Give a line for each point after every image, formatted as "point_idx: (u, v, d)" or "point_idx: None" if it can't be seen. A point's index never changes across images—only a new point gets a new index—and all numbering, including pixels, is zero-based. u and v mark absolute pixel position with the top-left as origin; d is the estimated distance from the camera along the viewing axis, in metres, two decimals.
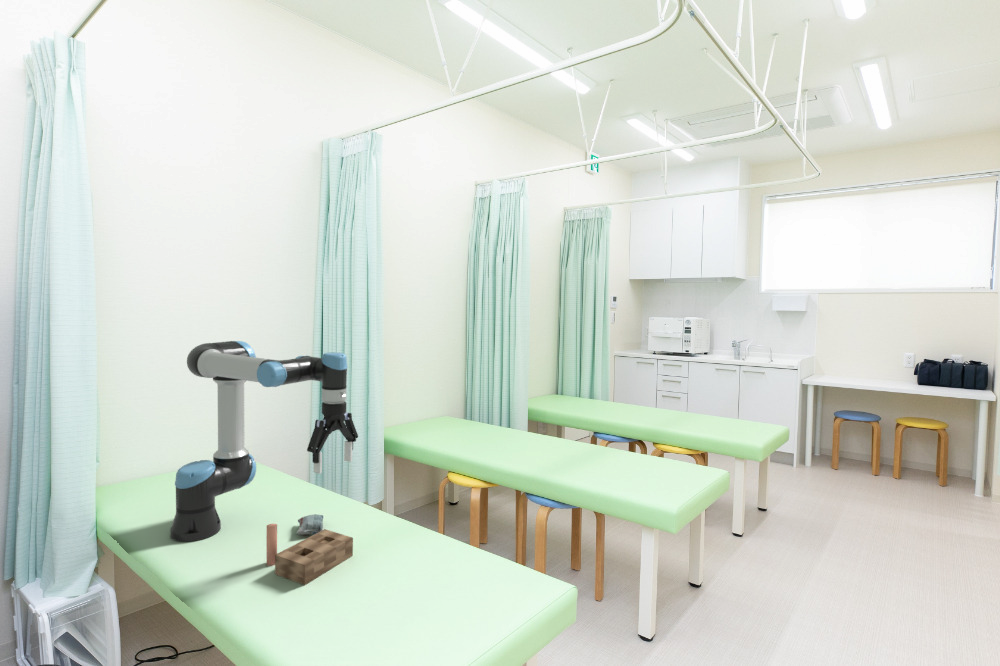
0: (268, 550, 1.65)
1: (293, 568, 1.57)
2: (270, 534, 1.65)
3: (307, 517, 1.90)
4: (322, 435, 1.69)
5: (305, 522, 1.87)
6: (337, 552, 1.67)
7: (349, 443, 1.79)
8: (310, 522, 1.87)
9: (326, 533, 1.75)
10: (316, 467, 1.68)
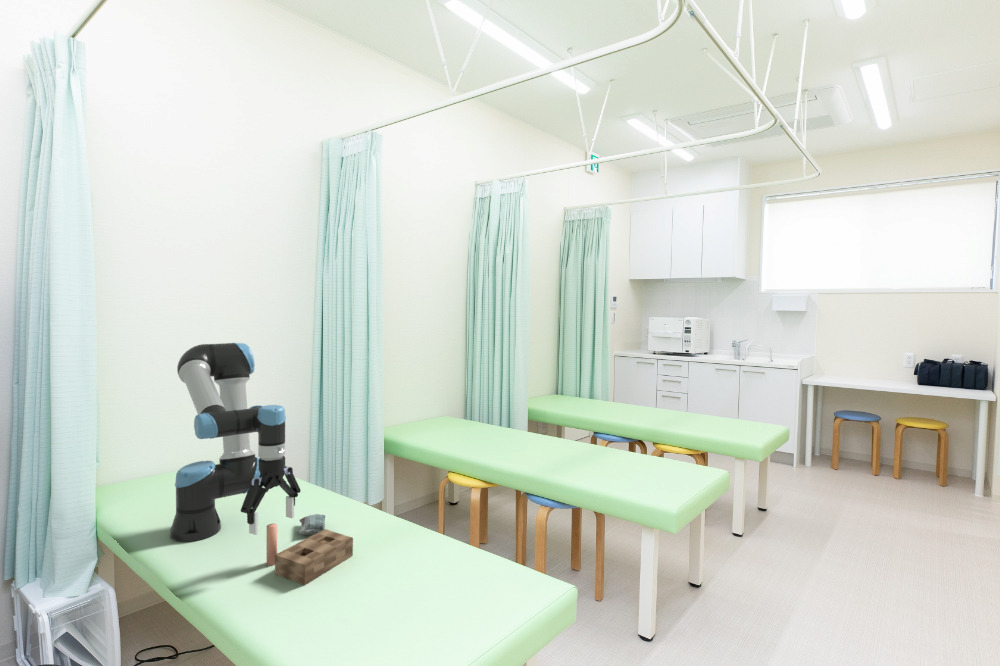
0: (268, 550, 1.65)
1: (293, 568, 1.57)
2: (270, 534, 1.65)
3: (309, 517, 1.90)
4: (258, 494, 1.61)
5: (307, 522, 1.87)
6: (337, 552, 1.67)
7: (290, 499, 1.71)
8: (312, 522, 1.87)
9: (326, 533, 1.75)
10: (251, 528, 1.59)
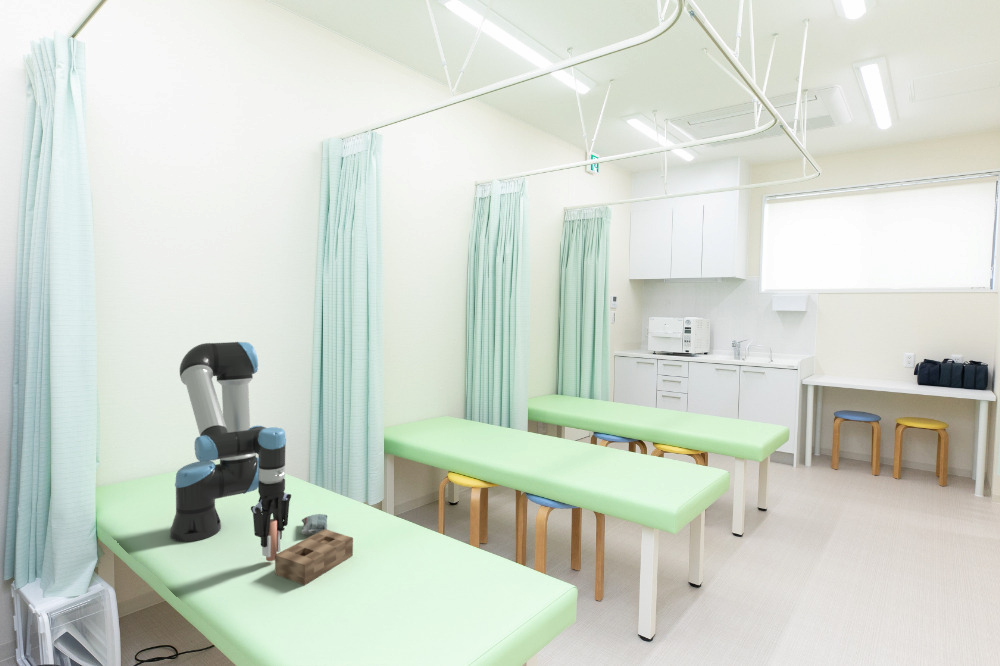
0: None
1: (293, 568, 1.57)
2: (270, 530, 1.65)
3: (311, 517, 1.90)
4: (264, 518, 1.64)
5: (309, 522, 1.87)
6: (337, 552, 1.67)
7: (277, 532, 1.68)
8: (314, 522, 1.87)
9: (326, 533, 1.75)
10: (265, 550, 1.65)
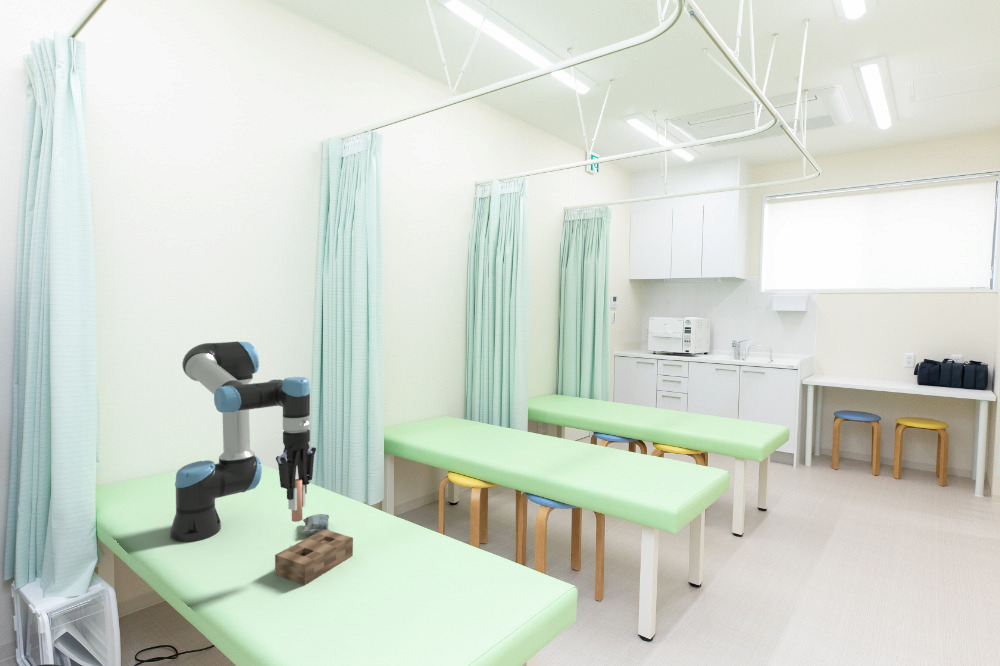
0: None
1: (293, 568, 1.57)
2: None
3: (313, 517, 1.91)
4: (290, 469, 1.59)
5: (311, 522, 1.87)
6: (337, 552, 1.67)
7: None
8: (315, 522, 1.87)
9: (326, 533, 1.75)
10: (291, 503, 1.60)
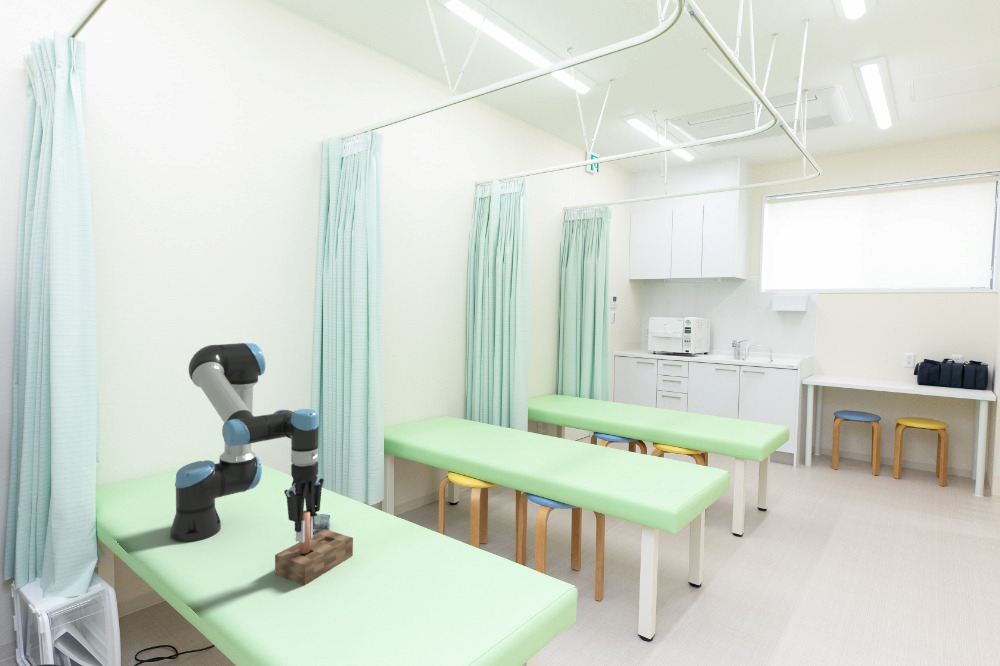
0: None
1: (293, 568, 1.57)
2: None
3: (314, 517, 1.91)
4: (298, 502, 1.59)
5: None
6: (337, 552, 1.67)
7: None
8: (317, 521, 1.87)
9: (326, 533, 1.75)
10: (299, 536, 1.61)
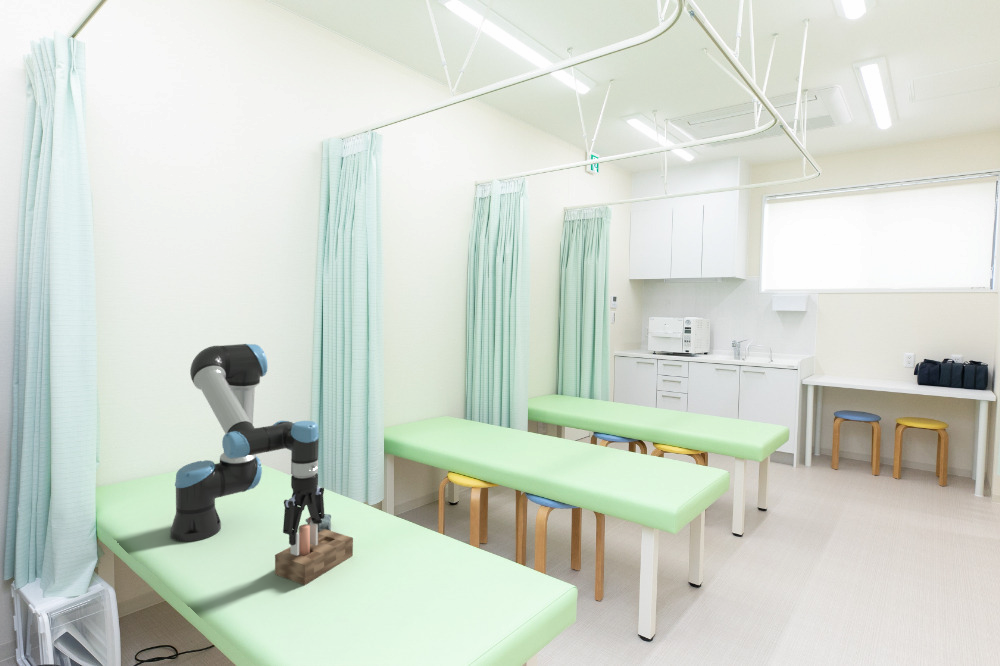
0: (301, 551, 1.61)
1: (293, 568, 1.57)
2: (303, 535, 1.60)
3: None
4: (295, 514, 1.59)
5: None
6: (337, 552, 1.67)
7: (314, 525, 1.65)
8: None
9: (326, 533, 1.75)
10: (293, 548, 1.59)
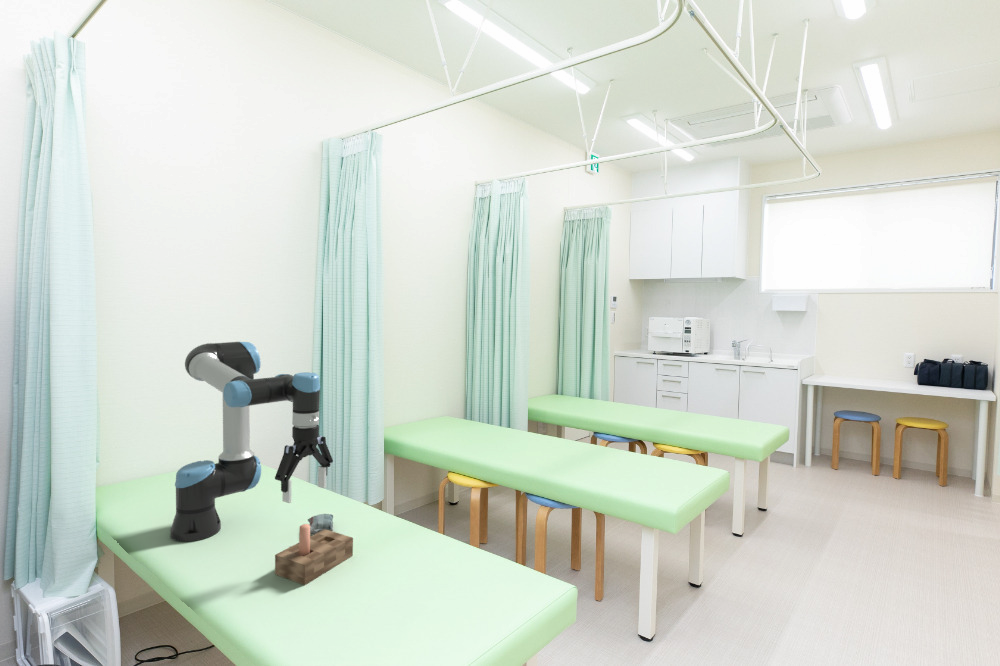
0: (301, 551, 1.61)
1: (293, 568, 1.57)
2: (303, 535, 1.61)
3: (317, 516, 1.91)
4: (292, 462, 1.58)
5: (315, 521, 1.88)
6: (337, 552, 1.67)
7: (323, 468, 1.68)
8: (320, 521, 1.87)
9: (326, 533, 1.75)
10: (285, 496, 1.57)
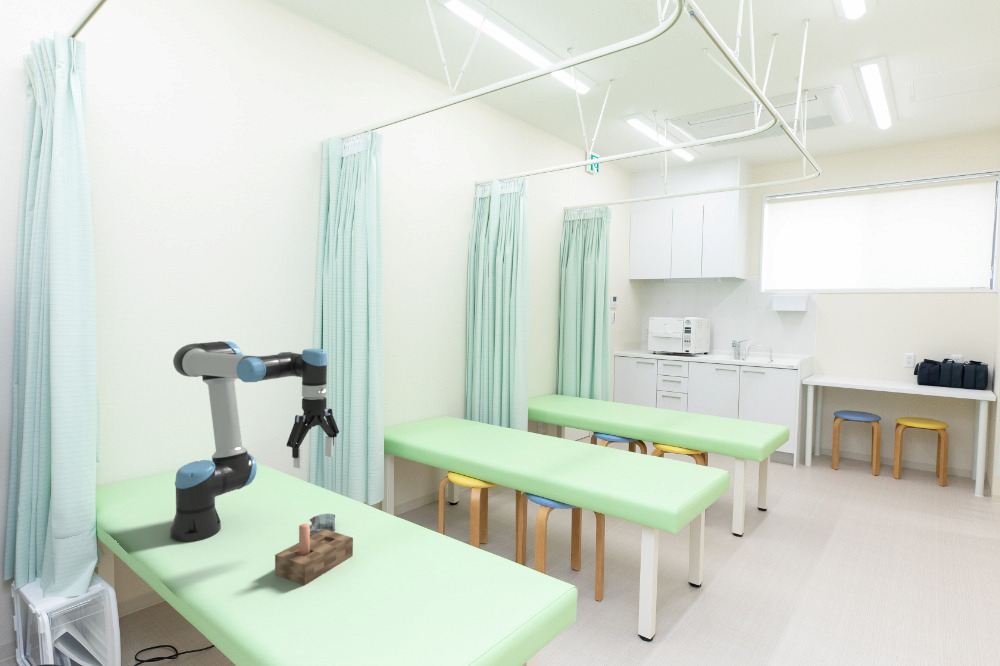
0: (301, 551, 1.61)
1: (293, 568, 1.57)
2: (303, 535, 1.61)
3: (319, 516, 1.91)
4: (302, 430, 1.71)
5: (317, 521, 1.88)
6: (337, 552, 1.67)
7: (330, 438, 1.81)
8: (322, 521, 1.88)
9: (326, 533, 1.75)
10: (296, 462, 1.70)
